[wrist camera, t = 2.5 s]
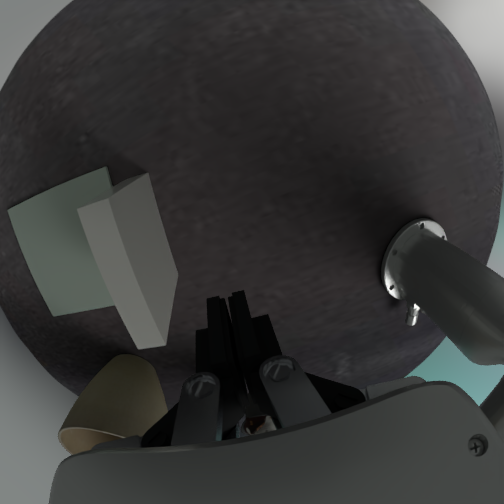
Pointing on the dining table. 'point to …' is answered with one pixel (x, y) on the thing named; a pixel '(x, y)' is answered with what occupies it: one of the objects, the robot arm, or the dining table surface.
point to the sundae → (256, 420)
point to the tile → (133, 257)
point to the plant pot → (114, 405)
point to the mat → (62, 244)
